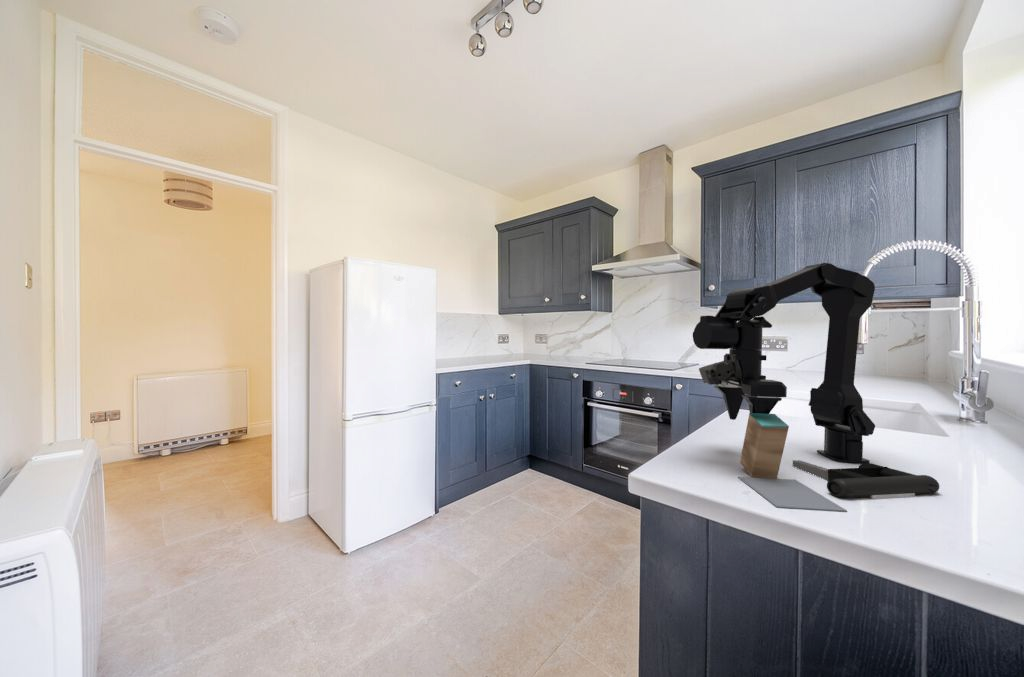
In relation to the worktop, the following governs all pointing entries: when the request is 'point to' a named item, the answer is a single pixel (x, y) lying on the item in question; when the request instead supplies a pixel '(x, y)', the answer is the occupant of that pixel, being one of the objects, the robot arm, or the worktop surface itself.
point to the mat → (790, 494)
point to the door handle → (871, 481)
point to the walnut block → (763, 445)
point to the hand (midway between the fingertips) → (743, 424)
